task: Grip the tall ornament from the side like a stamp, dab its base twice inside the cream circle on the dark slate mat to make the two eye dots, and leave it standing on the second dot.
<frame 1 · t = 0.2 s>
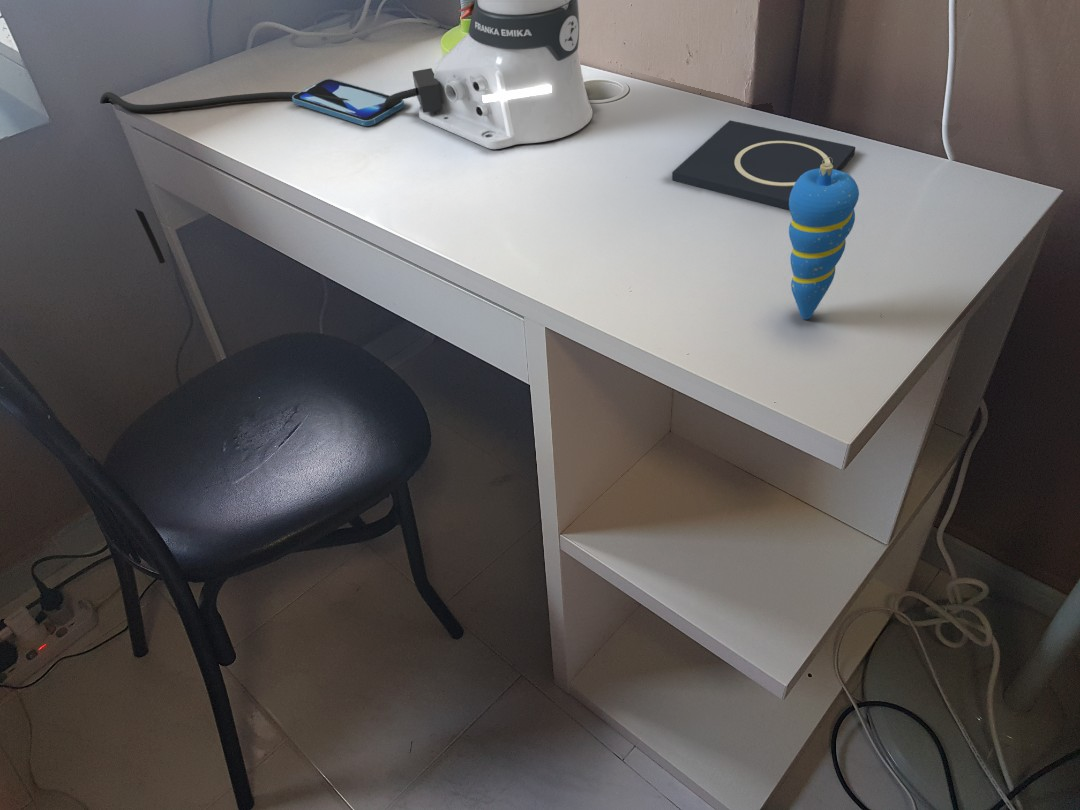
ornament: (802, 320, 73), on the table
mat: (763, 167, 92), on the table
smartphone: (348, 106, 112), on the table
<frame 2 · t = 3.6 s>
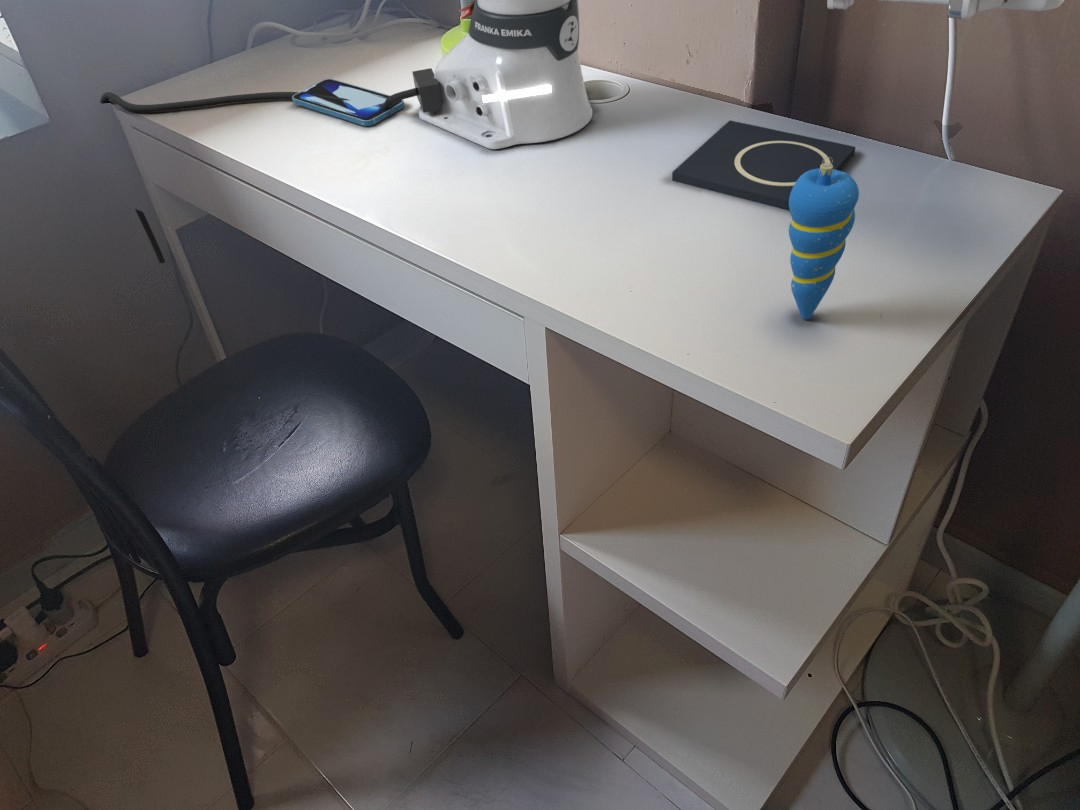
hand: (894, 3, 64), 22 cm above the table, tool horizontal, fingers open, 8 cm apart
nothing on the table moved.
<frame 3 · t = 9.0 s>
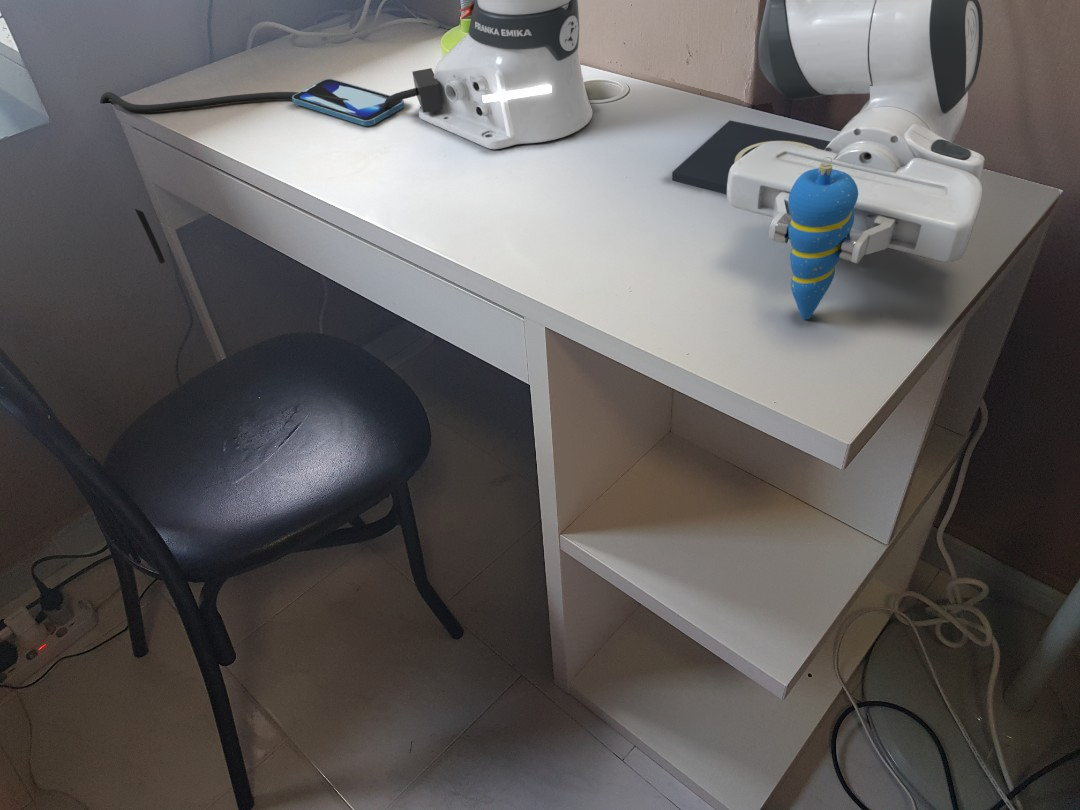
hand: (813, 243, 66), 8 cm above the table, tool horizontal, fingers closed on ornament, 4 cm apart
ornament: (802, 320, 73), on the table, touching gripper
everything else where it was.
when the fingers open (9 cm above the table, at t = 19.7 s): ornament stays where it is, resting on mat.
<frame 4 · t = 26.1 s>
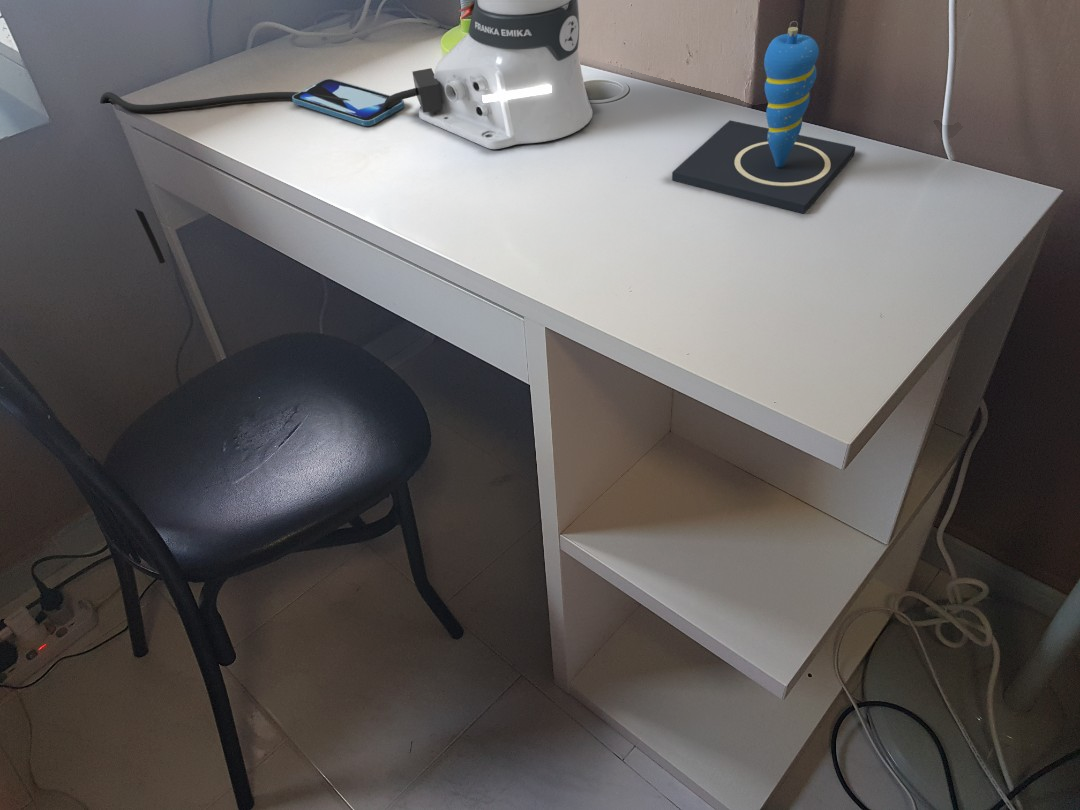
ornament: (777, 169, 89), point 1 cm above the table, touching mat
everything else where it was.
at the end: ornament 0.1 cm from the target spot on the mat, point 1.0 cm above the mat's base; ornament tilted 0°; the gripper is holding nothing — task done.
